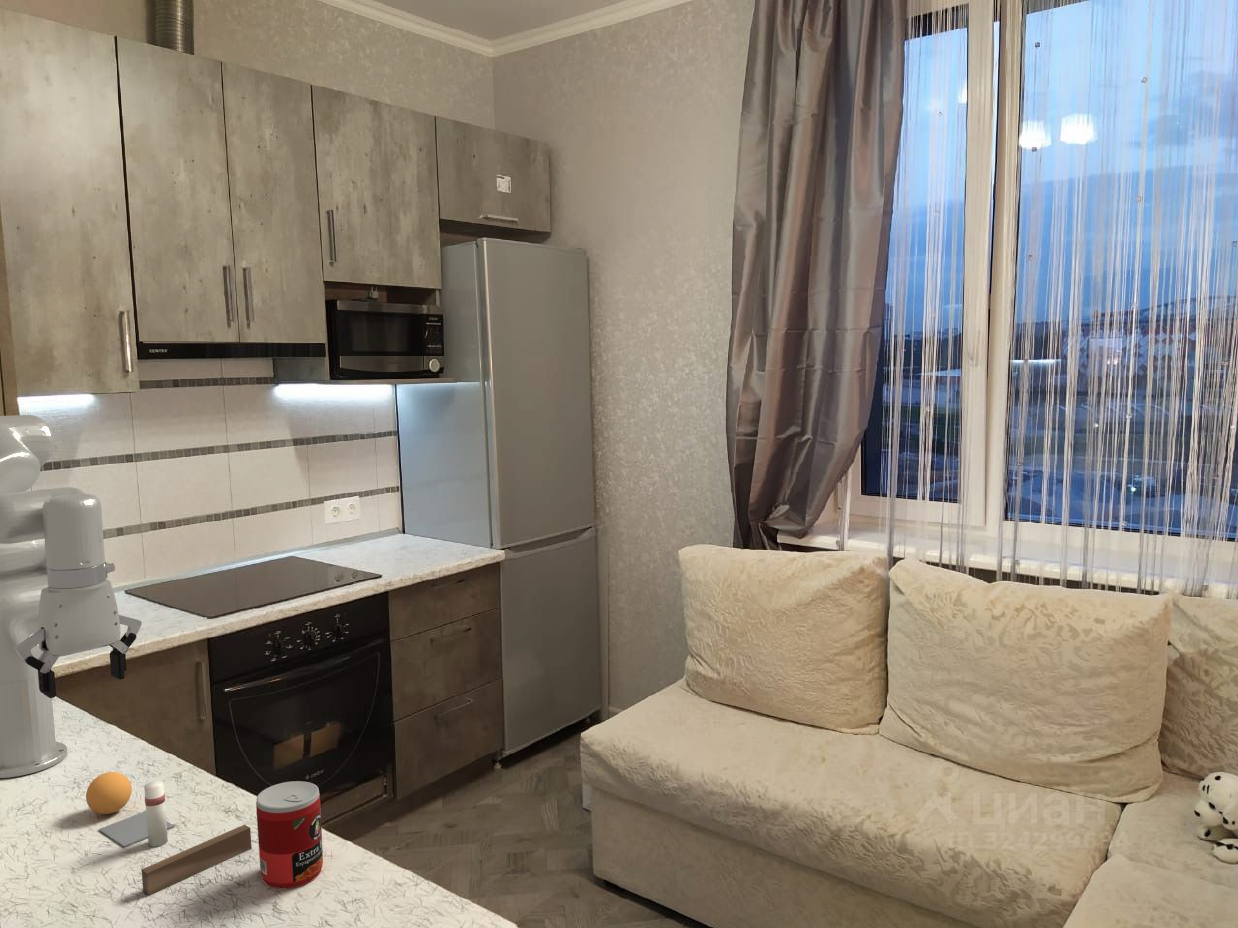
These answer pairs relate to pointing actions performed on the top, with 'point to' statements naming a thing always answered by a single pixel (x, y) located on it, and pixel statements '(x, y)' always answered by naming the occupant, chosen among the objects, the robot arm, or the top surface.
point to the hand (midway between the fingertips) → (84, 686)
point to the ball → (108, 793)
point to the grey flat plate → (129, 830)
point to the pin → (156, 813)
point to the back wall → (195, 859)
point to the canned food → (289, 834)
